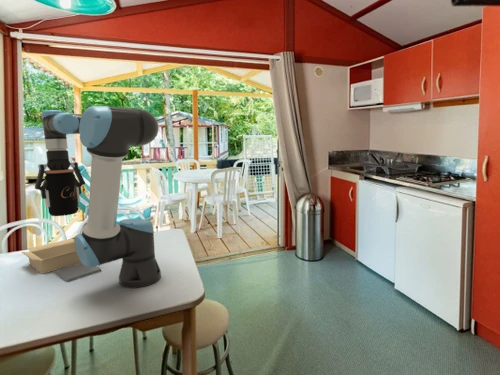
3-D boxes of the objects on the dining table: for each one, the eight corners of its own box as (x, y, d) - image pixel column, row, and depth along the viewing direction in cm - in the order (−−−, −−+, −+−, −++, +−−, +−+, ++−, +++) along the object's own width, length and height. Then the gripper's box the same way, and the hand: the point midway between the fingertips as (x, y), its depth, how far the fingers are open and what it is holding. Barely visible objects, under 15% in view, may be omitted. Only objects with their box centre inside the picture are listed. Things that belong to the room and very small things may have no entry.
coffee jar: (65, 216, 125) (60, 170, 123) (42, 216, 127) (36, 171, 125) (84, 211, 135) (80, 168, 133) (63, 210, 138) (58, 169, 135)
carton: (99, 259, 144) (98, 245, 143) (36, 277, 125) (35, 261, 124) (80, 249, 157) (79, 236, 156) (21, 264, 138) (19, 250, 138)
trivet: (101, 271, 130) (101, 268, 130) (66, 282, 120) (66, 279, 120) (87, 263, 139) (87, 261, 138) (54, 273, 129) (54, 270, 129)
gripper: (83, 149, 139) (88, 199, 142) (20, 151, 122) (27, 208, 124) (90, 148, 134) (95, 200, 137) (26, 150, 117) (33, 210, 120)
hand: (63, 204), depth 131 cm, fingers closed on coffee jar, 11 cm apart
